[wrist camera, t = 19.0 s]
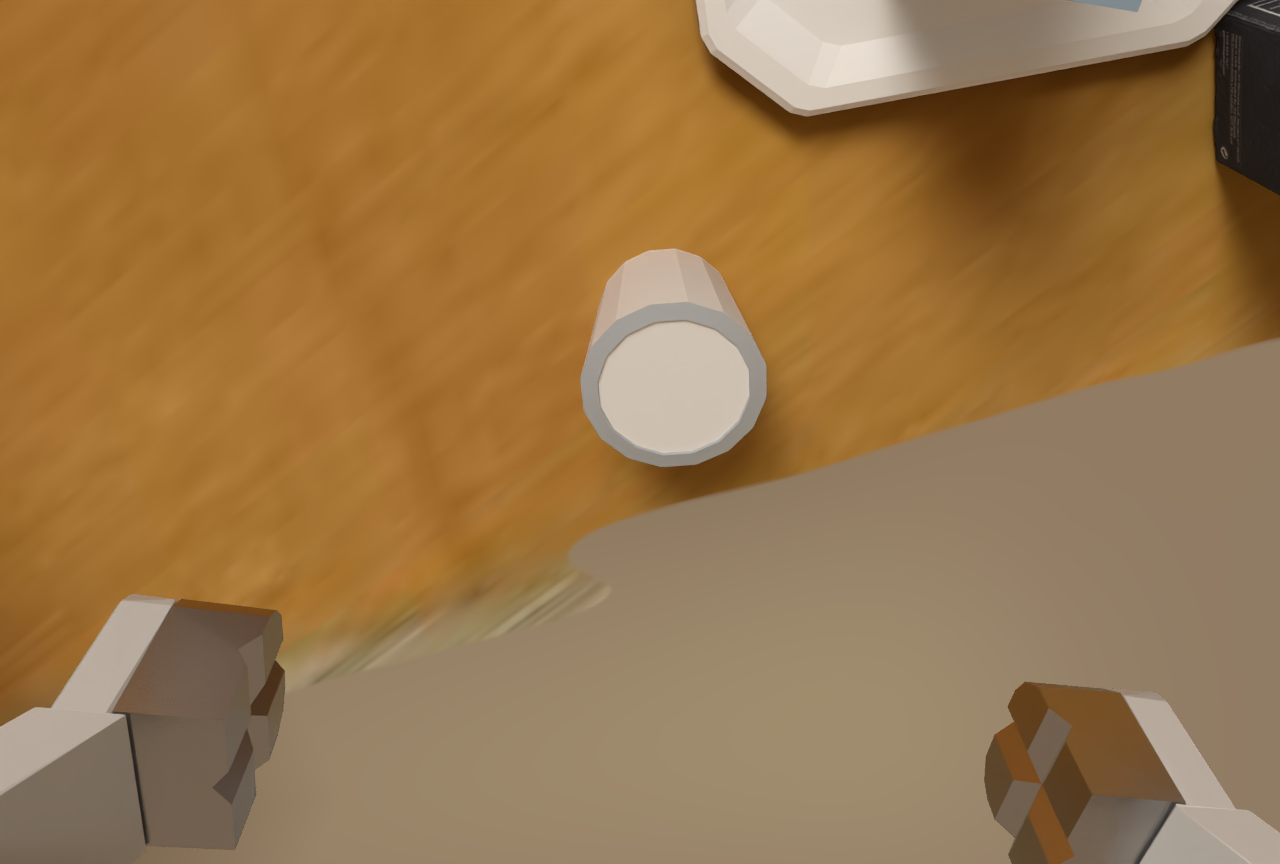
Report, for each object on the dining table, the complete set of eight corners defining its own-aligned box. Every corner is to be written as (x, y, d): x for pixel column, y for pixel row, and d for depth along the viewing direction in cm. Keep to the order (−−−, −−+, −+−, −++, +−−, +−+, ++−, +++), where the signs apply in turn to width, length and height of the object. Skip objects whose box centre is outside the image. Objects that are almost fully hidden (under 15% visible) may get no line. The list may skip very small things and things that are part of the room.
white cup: (593, 224, 41) (589, 292, 35) (760, 243, 41) (785, 313, 35) (577, 375, 44) (571, 460, 38) (731, 390, 45) (750, 477, 39)
